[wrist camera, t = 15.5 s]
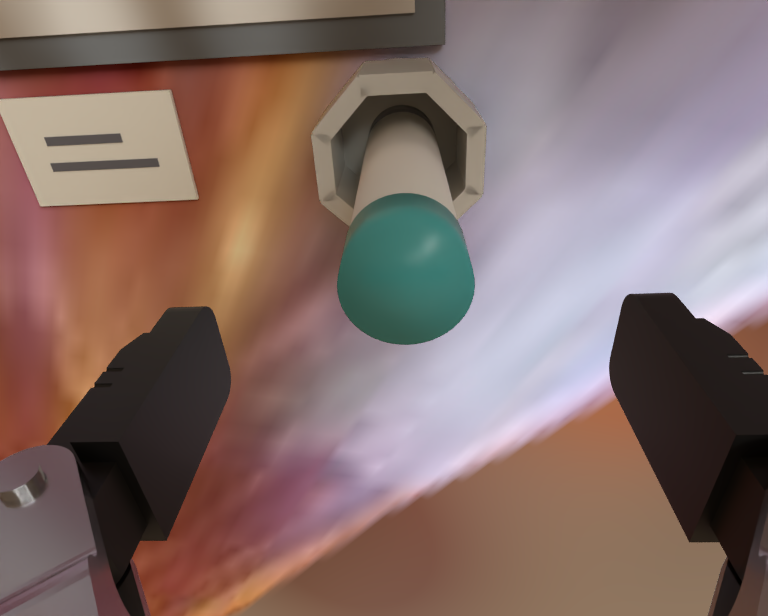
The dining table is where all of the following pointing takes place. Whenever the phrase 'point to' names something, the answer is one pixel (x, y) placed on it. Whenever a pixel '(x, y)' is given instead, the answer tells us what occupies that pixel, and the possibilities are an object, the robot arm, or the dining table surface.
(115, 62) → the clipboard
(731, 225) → the dining table surface
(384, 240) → the marker
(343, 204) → the pen cup
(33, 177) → the word card
